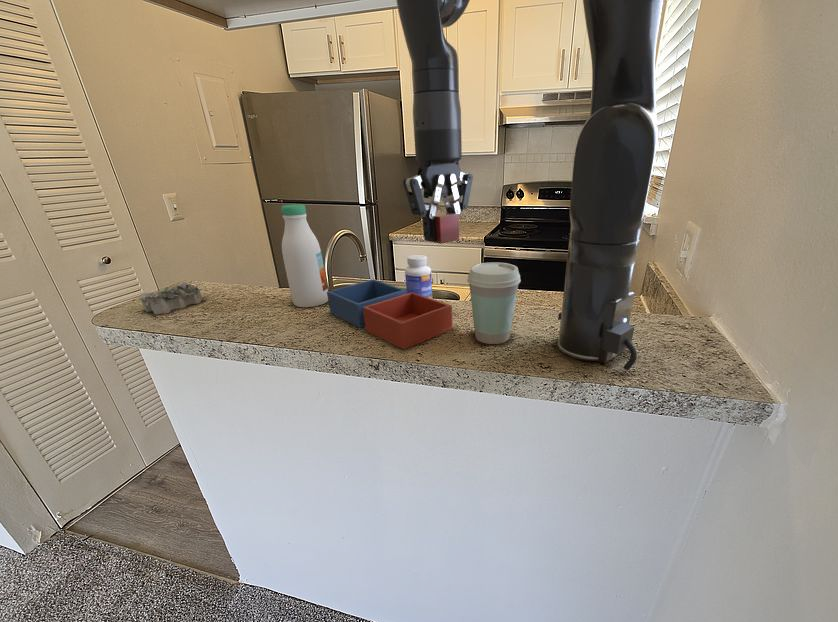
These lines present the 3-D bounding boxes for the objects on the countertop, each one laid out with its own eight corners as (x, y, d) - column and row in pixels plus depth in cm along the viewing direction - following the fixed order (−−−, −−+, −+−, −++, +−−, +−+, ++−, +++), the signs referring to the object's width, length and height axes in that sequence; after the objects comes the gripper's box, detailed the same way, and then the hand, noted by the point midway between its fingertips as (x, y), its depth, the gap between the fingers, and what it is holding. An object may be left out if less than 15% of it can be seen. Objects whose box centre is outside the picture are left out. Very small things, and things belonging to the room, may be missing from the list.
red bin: (452, 329, 73) (451, 305, 71) (403, 349, 66) (401, 323, 64) (413, 314, 80) (411, 291, 78) (365, 330, 73) (362, 307, 71)
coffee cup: (515, 349, 65) (519, 276, 59) (463, 345, 67) (462, 274, 61) (519, 328, 72) (523, 262, 67) (472, 325, 74) (472, 260, 68)
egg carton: (157, 316, 83) (149, 298, 81) (140, 310, 87) (133, 292, 85) (208, 301, 91) (202, 283, 89) (191, 296, 95) (185, 278, 93)
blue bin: (407, 311, 81) (406, 290, 79) (360, 328, 75) (357, 304, 72) (376, 299, 89) (373, 279, 86) (330, 313, 82) (326, 291, 80)
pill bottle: (426, 307, 83) (423, 260, 79) (403, 305, 85) (399, 259, 80) (436, 299, 88) (434, 254, 83) (414, 297, 89) (411, 252, 85)
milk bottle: (319, 309, 84) (300, 207, 75) (286, 307, 86) (263, 208, 76) (335, 297, 91) (320, 202, 82) (304, 295, 92) (285, 202, 83)
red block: (459, 239, 72) (458, 213, 70) (440, 243, 69) (439, 216, 67) (442, 236, 74) (441, 211, 72) (424, 240, 72) (422, 214, 70)
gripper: (417, 126, 57) (424, 248, 65) (485, 126, 65) (484, 235, 73) (386, 129, 62) (396, 242, 70) (454, 129, 70) (456, 230, 78)
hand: (441, 238), depth 72 cm, fingers closed on red block, 4 cm apart
